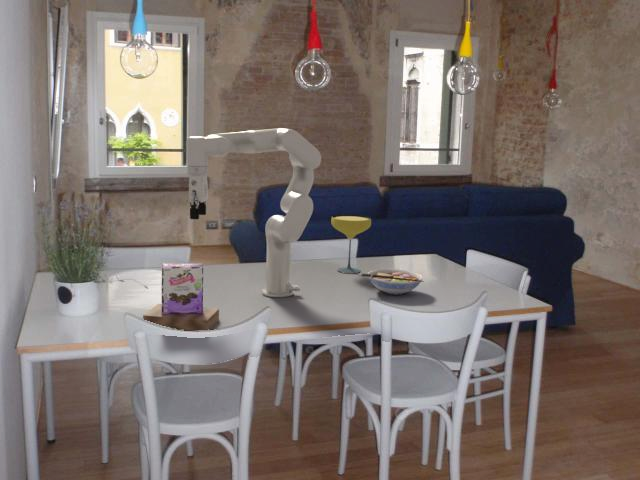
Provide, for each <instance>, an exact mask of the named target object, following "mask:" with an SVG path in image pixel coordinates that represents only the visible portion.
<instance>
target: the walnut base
mask: <svg viewBox="0 0 640 480" xmlns="http://www.w3.org/2000/svg"><path fill="white" fill-rule="evenodd" d="M219 317H220V308H216V307H215V308H213V307H204V306H203V313H198V314H162V303H158V304H156V305H155V306H154V307H152V308H151V309H149V310H148V311H147V312H145V313H144V314H143V316H142V319H144V320H147V321H150V322H153V323H156V324H159V325H162V326H166V327H170V328H176V329H184V330H183V331H187V330H208V329H210V330H211V329H212V327H214V325H215V324H216V323H218V322H219V321H220V318H219Z"/></svg>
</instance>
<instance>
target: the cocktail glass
mask: <svg viewBox="0 0 640 480" xmlns="http://www.w3.org/2000/svg"><path fill="white" fill-rule="evenodd" d="M330 222H331V226H332V227H333V228H334V229H335V230H337V231H338V232H340V233H342V234H344V235H345V237H347V239H348V240H349V244H348V261H347V266H346V267H341V268H340V267H339V268H337V269H338V271H340V272H344V273H343V274H345V273H356V274H359V273H358V272H360V273H361V270H360V269H359V268H355V267H352V266H351V246H352V245H351V244H352V240H353V239H354V238H355V237H356V236H357V235H359V234H361V233H364V232H365V231H367V230H369V229H370V228H371V226H372V218H371V217H369V216H366V215H362V214H347V213H345V214H334V215H333V216H331V220H330ZM338 271H337V272H338ZM340 272H339V273H340Z"/></svg>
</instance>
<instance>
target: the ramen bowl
mask: <svg viewBox="0 0 640 480" xmlns="http://www.w3.org/2000/svg"><path fill="white" fill-rule="evenodd" d="M360 276H361V277H367V278H368V279H369V281H370V283H371V284H372V285H373V286H374V287H375V288H377V289H378V290H380V291H381V292H384V293H386V294H388V295H392V294H395V296H398V294H400V295H403V294H405V293H408V292H411V291H413V290H415V289H416V288H417V287H418V286H419V285H420V284H421V283H422V282H424V280H423V279H424V278H423V275H422V274H420V273H418V272H415V271H411V270H406V269H399V268H397V269H395V268H379V269H374V270H373V269H372V270H371V271H368V272H367V273H362V274H361V275H360Z"/></svg>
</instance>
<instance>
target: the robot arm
mask: <svg viewBox="0 0 640 480" xmlns="http://www.w3.org/2000/svg"><path fill="white" fill-rule="evenodd" d="M277 151H278V152H279V151H283V152H287V153H288V154H289V156H288V157H289V161H290V164H291V166H292V171H293V172H292V177H291V179H290V181H289V184H288V186H287V188H286V191H285V192H284V194H283V195H282V197H281V199H280V203H279V206H280V209H281V211H282V212H284V213H285V216H284V215H280V214H274V215H272V216H270V217H269V218H268V220H267V221H266V223H265V227H264V228H265V229H264V230H265V240H266V262H265V263H266V265H265V267H266V268H265V287H264V288H262V289H261V294H262V295H263V296H265V297H270V298H286V297H291V296H293V294H294V292H300V291H301V286H299V285H293V284H292V281H291V259H292V257H291V256H292V254H291V253H292V249H291V248H292V247H291V244H293V243H296V242H297V241H298V240H299V239H300V237H301V236H302V235H303V232H304V230H305V228H306V226H307V225H308V222H310V219H311V216H312V215H313V211H314V202H313V199H312V197H310V196H309V194H310V191H311V190H312V187H313V184H314V180H315V176H314V175H315V174H314V173H315V172H314V170H315V169H318V167H320V165H321V163H322V154H321V152H320V151H319V150H318V149H317V148H316V147H315V146H314V145H313V144H312V143H310V142H309V141H308V140H307V139H306V138H305V137H304V136H302V134H300V133H299V132H297V130H294V129H293V128H284V127H278V128H277V127H275V128H268V129H257V130H246V131H244V130H243V131H238V132H235V131H234V132H224V133H214V134H213V133H212V134H208V135H206V136H200V135H198V136H197V135H195V136H194V135H193V136H192V135H191V136H188V137H187V139H186V172H187V173H186V175H187V176H188V178H189V179H188V200H189V218H190V220H199V219H200V216H202V215H203V216H205V215H207V200H208V199H209V185H208V184H209V182H208V175H209V157H218V158H223V157H226V156H227V155H228V154H229V153H241V154H259V153H260V154H261V153H269V152H270V153H271V152H277Z"/></svg>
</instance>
